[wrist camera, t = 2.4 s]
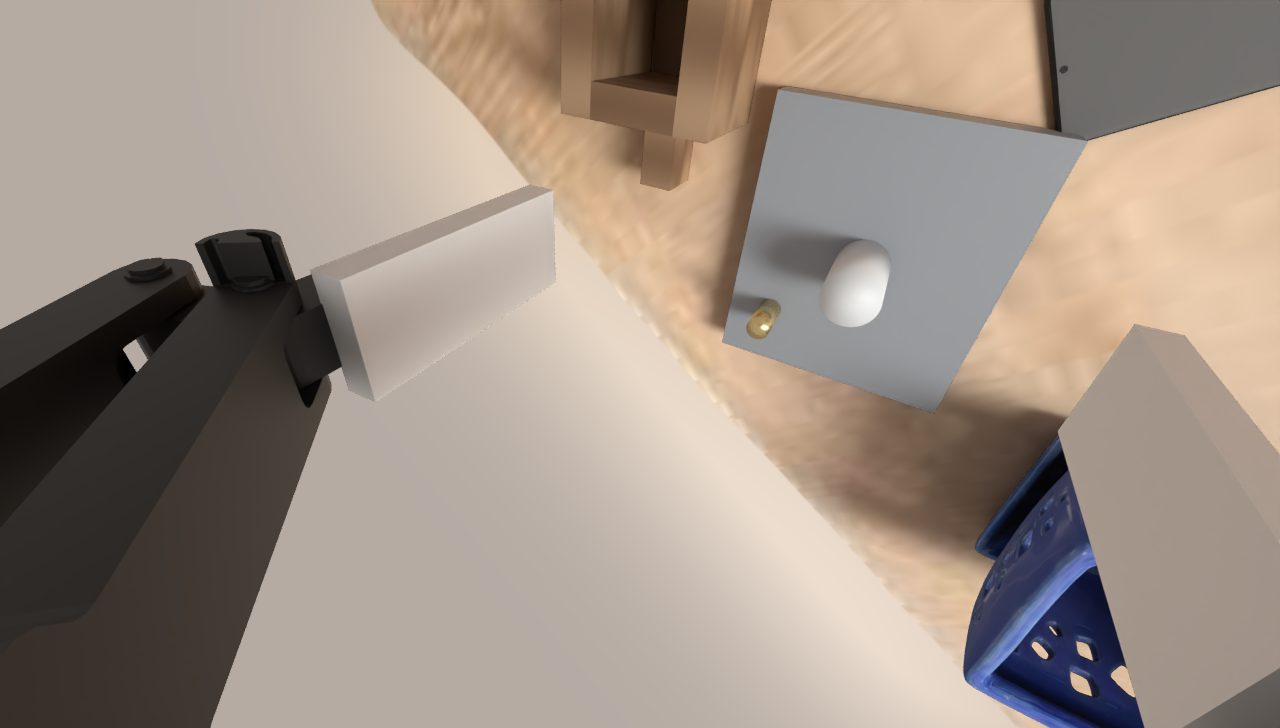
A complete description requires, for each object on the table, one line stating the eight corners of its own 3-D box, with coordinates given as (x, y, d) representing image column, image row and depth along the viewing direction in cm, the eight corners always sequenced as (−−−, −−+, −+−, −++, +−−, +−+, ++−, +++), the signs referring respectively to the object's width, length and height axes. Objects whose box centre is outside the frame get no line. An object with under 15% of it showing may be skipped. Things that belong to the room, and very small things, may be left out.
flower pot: (951, 533, 38) (951, 687, 29) (1046, 393, 31) (1086, 546, 22) (1170, 618, 34) (1249, 829, 25) (1346, 480, 26) (1549, 716, 17)
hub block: (633, -71, 28) (561, -93, 23) (783, -61, 26) (740, -82, 20) (618, 163, 35) (560, 187, 30) (734, 190, 33) (693, 222, 28)
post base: (786, 86, 29) (750, 100, 23) (1079, 133, 24) (1115, 164, 19) (731, 329, 38) (696, 378, 33) (934, 396, 34) (931, 465, 28)
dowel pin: (762, 296, 33) (748, 316, 31) (783, 302, 33) (771, 322, 31) (757, 314, 34) (743, 335, 32) (778, 321, 34) (765, 342, 32)
